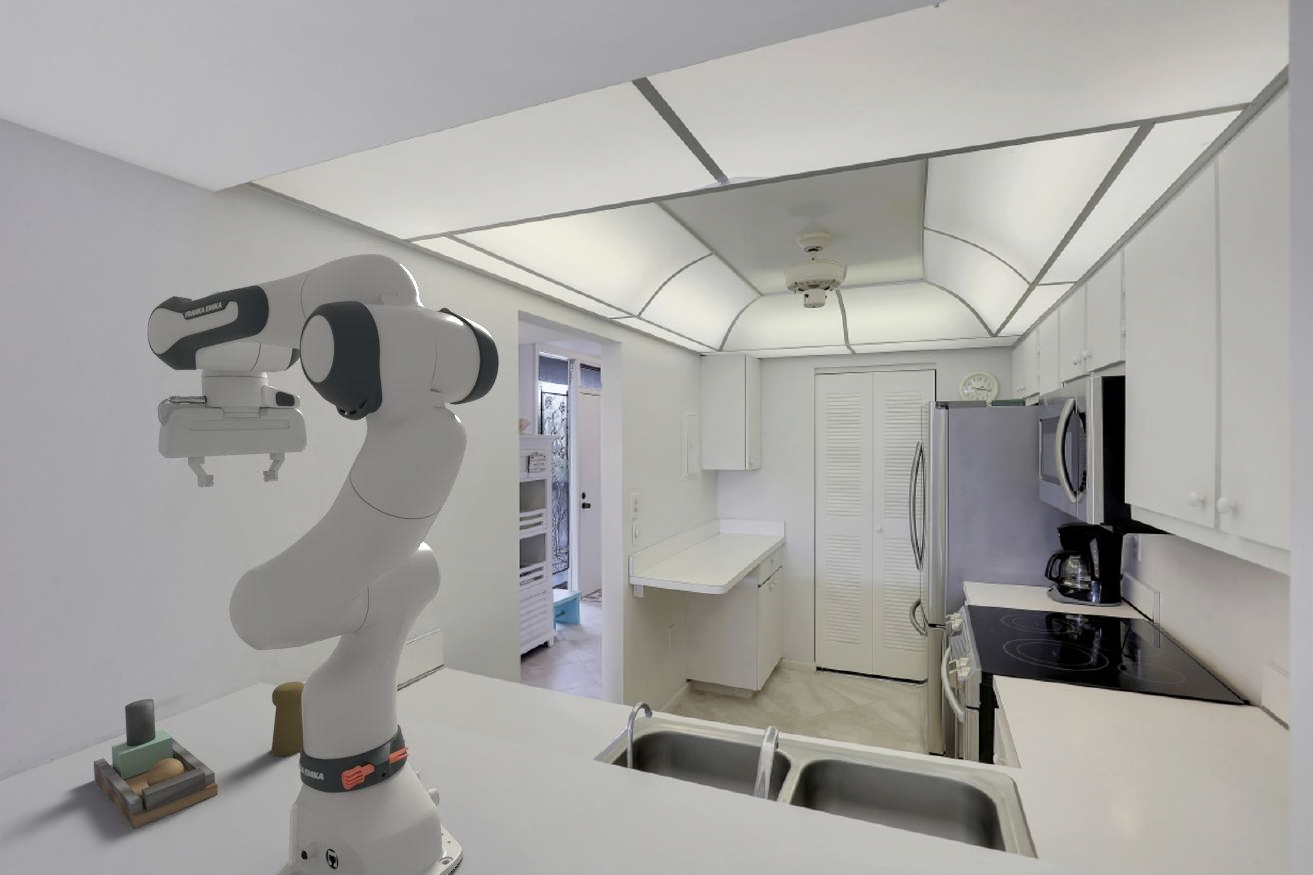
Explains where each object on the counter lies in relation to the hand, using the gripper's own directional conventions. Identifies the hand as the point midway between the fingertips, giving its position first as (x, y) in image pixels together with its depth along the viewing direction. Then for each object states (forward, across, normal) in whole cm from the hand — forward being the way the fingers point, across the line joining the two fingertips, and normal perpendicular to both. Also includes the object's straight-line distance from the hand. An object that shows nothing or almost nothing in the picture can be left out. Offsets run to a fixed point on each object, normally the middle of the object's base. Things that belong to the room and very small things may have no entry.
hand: (239, 484), depth 101 cm
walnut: (+43, -10, +4) cm, 44 cm away
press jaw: (+45, -9, +15) cm, 48 cm away
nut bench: (+47, -10, +10) cm, 49 cm away
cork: (+47, +8, +3) cm, 48 cm away
